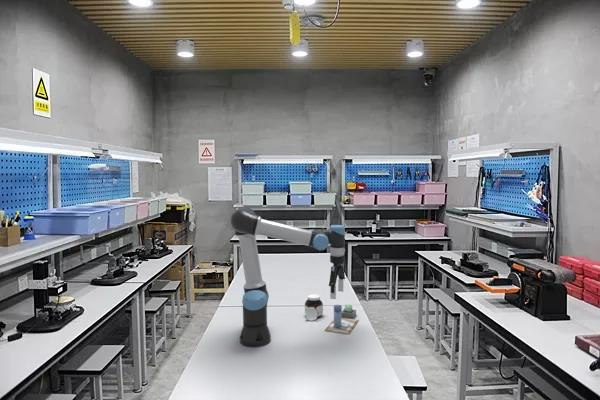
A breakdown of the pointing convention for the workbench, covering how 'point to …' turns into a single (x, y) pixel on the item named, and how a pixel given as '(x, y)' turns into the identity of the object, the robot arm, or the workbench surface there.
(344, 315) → the button housing
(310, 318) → the spread jar
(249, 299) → the robot arm
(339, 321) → the blue cylinder
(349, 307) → the button
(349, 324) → the picture frame
